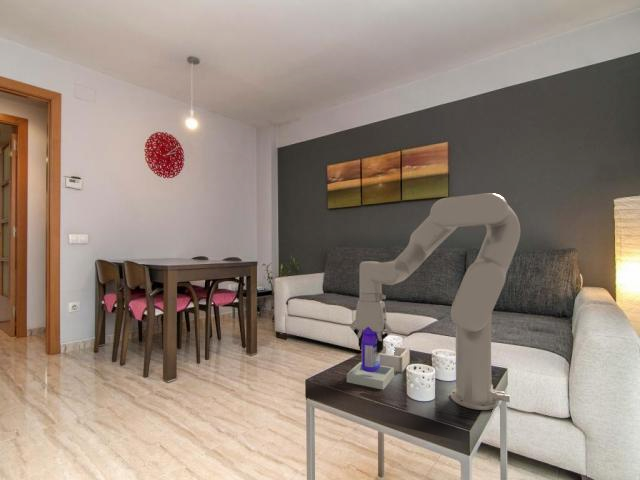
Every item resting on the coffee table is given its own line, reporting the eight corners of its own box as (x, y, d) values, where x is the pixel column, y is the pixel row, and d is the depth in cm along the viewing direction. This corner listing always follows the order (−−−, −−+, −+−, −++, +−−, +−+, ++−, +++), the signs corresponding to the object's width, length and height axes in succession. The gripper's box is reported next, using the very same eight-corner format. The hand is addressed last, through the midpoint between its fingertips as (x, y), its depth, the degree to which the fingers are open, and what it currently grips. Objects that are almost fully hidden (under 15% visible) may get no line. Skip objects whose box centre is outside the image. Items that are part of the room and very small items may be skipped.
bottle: (374, 374, 110) (374, 321, 111) (358, 371, 113) (358, 319, 114) (382, 367, 117) (382, 317, 117) (367, 364, 120) (366, 315, 120)
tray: (394, 375, 118) (394, 367, 118) (383, 389, 106) (383, 380, 106) (360, 369, 124) (360, 361, 124) (346, 382, 112) (346, 373, 112)
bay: (409, 362, 131) (409, 348, 131) (401, 373, 120) (401, 357, 120) (380, 357, 136) (379, 344, 136) (369, 367, 126) (369, 352, 126)
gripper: (398, 297, 115) (398, 351, 114) (351, 294, 123) (351, 344, 122) (392, 301, 108) (392, 357, 108) (343, 297, 116) (343, 349, 116)
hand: (370, 349), depth 115 cm, fingers closed on bottle, 5 cm apart
